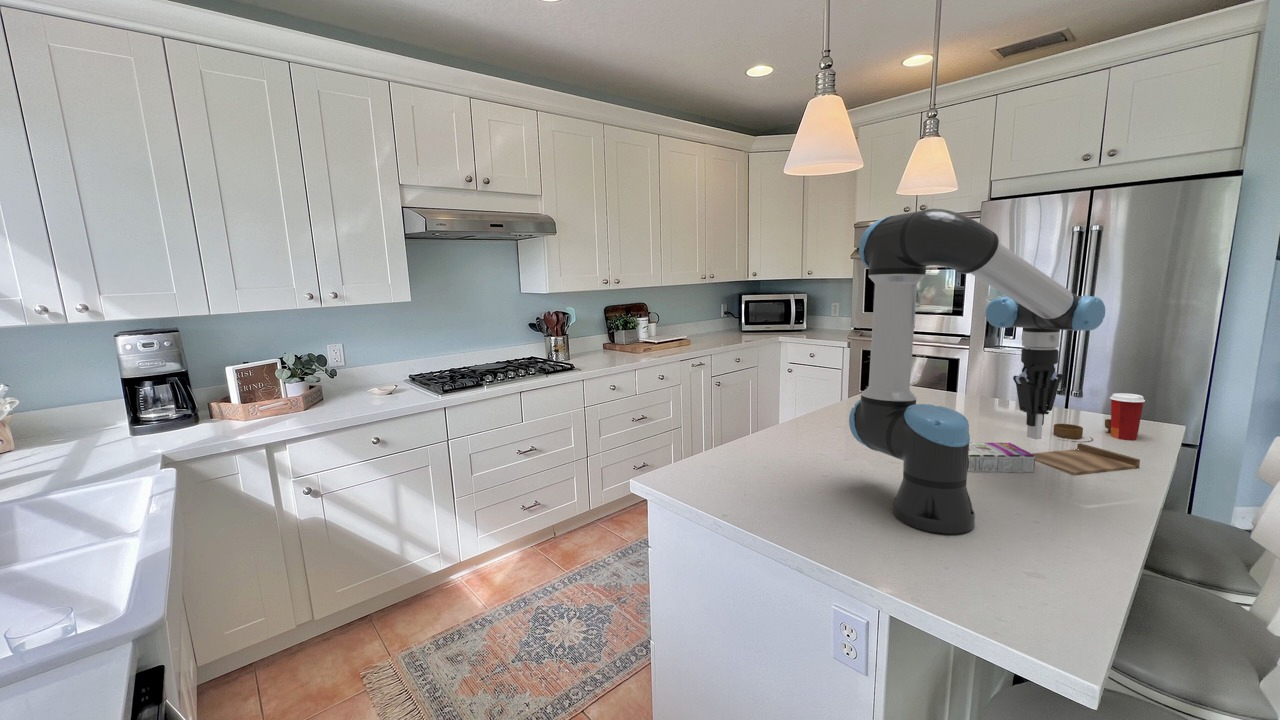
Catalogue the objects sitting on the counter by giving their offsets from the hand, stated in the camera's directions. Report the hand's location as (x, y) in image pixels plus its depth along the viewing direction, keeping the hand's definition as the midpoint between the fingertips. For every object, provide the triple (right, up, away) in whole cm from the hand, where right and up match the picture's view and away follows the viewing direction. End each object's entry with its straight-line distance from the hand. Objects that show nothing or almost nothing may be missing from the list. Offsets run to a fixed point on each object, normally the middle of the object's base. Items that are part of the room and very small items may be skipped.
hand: (1034, 437), depth 135 cm
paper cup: (+43, -4, +21) cm, 48 cm away
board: (+14, -7, +3) cm, 16 cm away
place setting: (+32, -5, +22) cm, 39 cm away
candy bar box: (-2, -6, +2) cm, 6 cm away
